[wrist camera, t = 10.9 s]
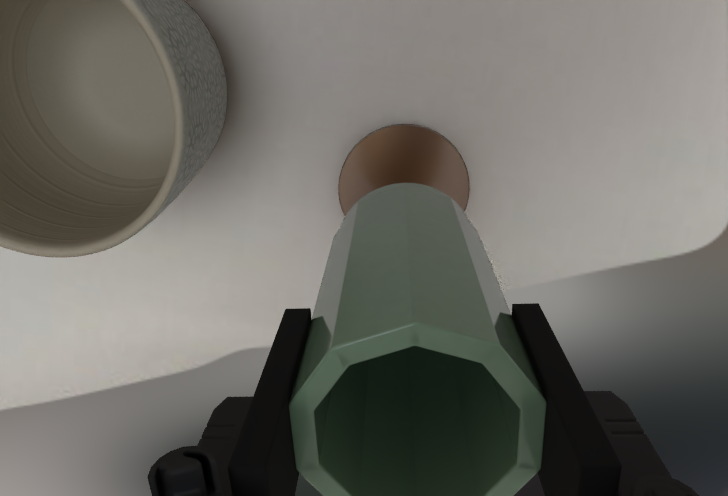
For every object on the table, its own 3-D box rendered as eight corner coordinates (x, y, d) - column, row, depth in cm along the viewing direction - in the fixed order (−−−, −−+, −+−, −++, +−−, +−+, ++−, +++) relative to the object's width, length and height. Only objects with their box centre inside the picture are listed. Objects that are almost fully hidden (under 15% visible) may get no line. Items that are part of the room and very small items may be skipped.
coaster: (470, 120, 31) (471, 122, 31) (467, 246, 34) (468, 250, 34) (334, 126, 32) (333, 128, 31) (343, 250, 35) (342, 253, 34)
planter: (204, -75, 28) (102, -126, 18) (279, 160, 33) (228, 222, 23) (-10, -7, 30) (-212, -20, 20) (87, 207, 35) (-38, 285, 24)
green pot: (476, 176, 23) (555, 320, 12) (473, 311, 26) (536, 535, 14) (331, 181, 24) (277, 325, 12) (341, 314, 26) (303, 535, 15)
